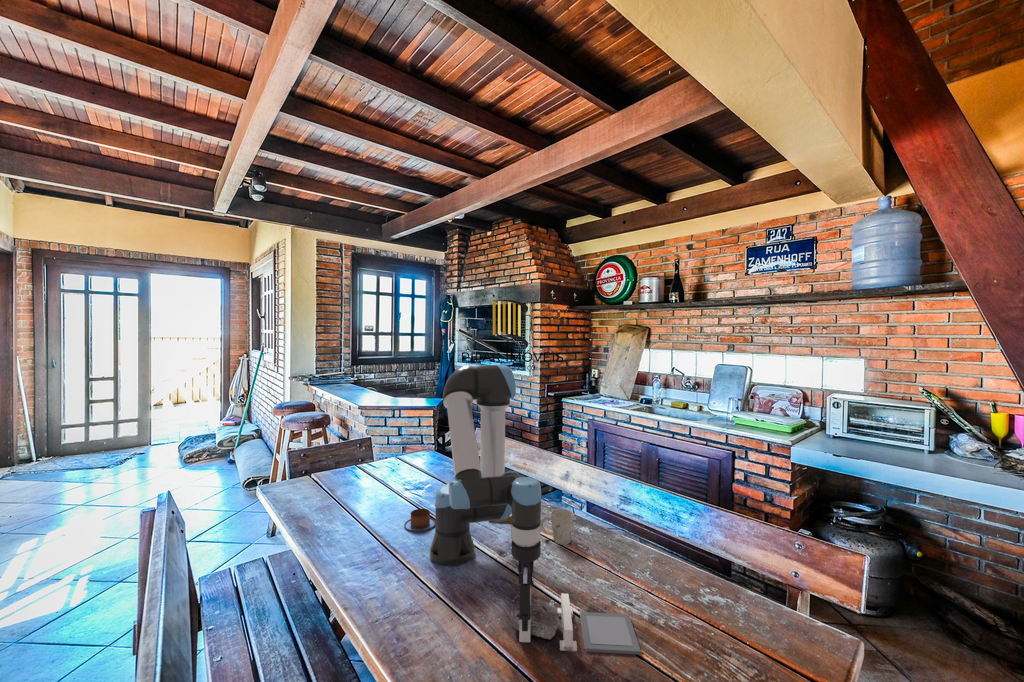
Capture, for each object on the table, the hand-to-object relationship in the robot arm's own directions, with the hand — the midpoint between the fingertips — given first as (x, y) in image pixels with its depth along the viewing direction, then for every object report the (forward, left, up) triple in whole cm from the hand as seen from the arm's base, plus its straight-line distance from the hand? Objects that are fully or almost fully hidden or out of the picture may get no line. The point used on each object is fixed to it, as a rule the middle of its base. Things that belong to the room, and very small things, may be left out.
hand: (525, 625), depth 107 cm
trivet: (+21, -1, 0) cm, 21 cm away
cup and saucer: (-43, +52, -1) cm, 67 cm away
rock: (-1, 0, -2) cm, 2 cm away
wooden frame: (-8, +66, 0) cm, 66 cm away
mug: (+10, +46, -1) cm, 47 cm away
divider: (+10, 0, 0) cm, 11 cm away
